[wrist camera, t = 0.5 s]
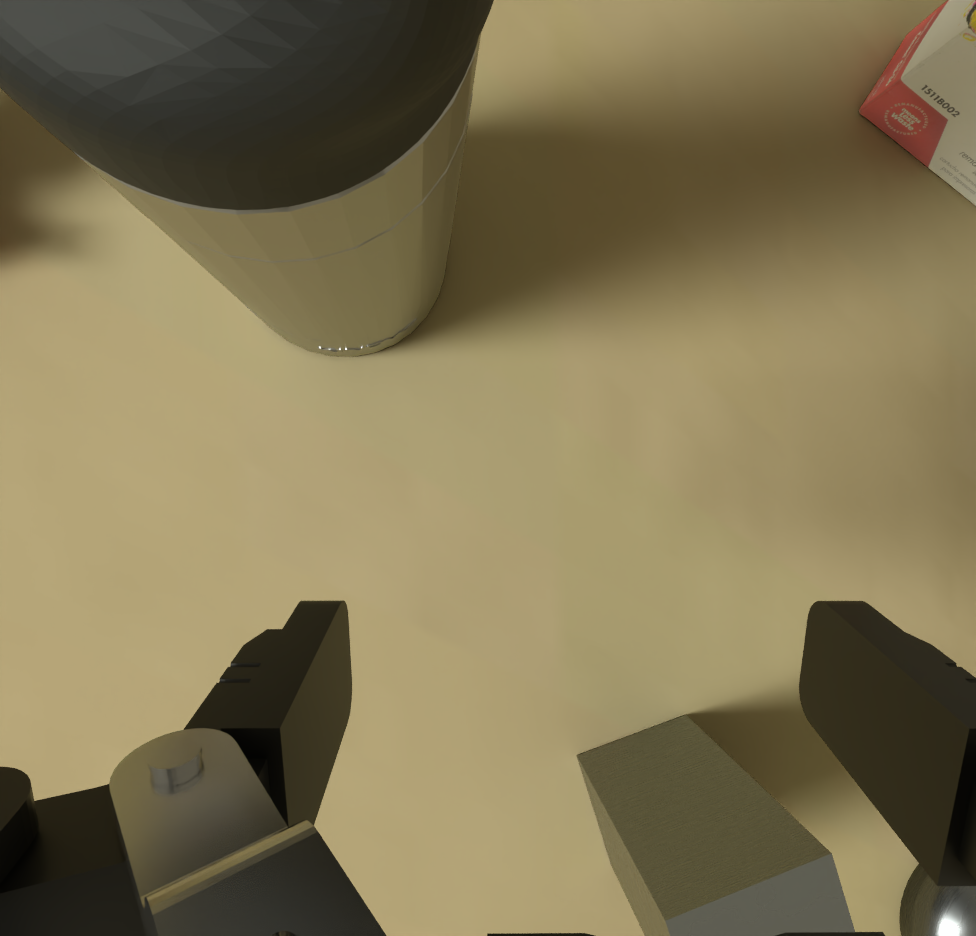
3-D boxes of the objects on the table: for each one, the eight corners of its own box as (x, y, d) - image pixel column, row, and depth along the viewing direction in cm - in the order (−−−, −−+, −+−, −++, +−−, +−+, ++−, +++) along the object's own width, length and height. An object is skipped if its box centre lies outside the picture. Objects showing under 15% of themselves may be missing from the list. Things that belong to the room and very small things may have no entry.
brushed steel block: (576, 755, 31) (665, 921, 20) (685, 714, 31) (831, 853, 20) (611, 865, 31) (718, 1089, 20) (719, 823, 31) (881, 1018, 20)
